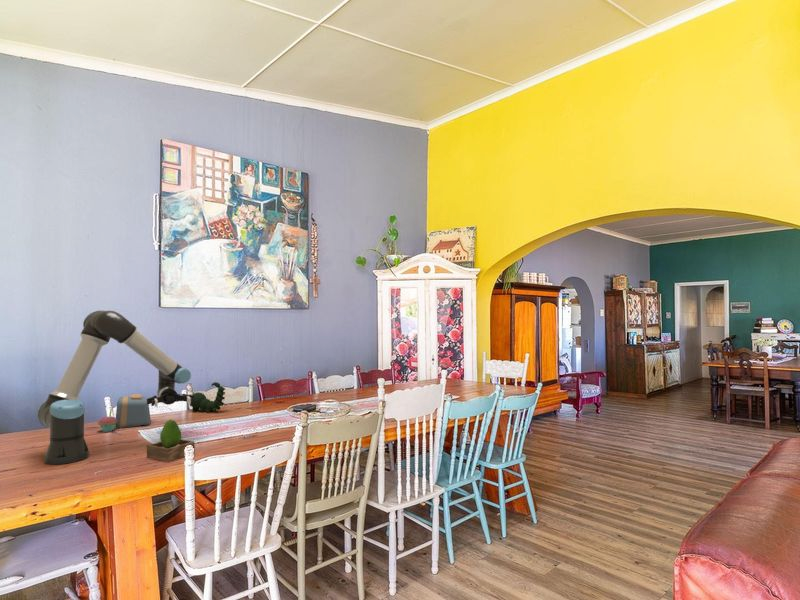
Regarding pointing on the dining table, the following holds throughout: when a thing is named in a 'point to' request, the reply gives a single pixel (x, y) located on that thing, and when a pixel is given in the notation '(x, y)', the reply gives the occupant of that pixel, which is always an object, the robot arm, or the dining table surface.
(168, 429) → the avocado
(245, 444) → the dining table surface
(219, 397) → the toy figurine
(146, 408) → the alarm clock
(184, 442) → the walnut stand
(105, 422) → the cupcake
